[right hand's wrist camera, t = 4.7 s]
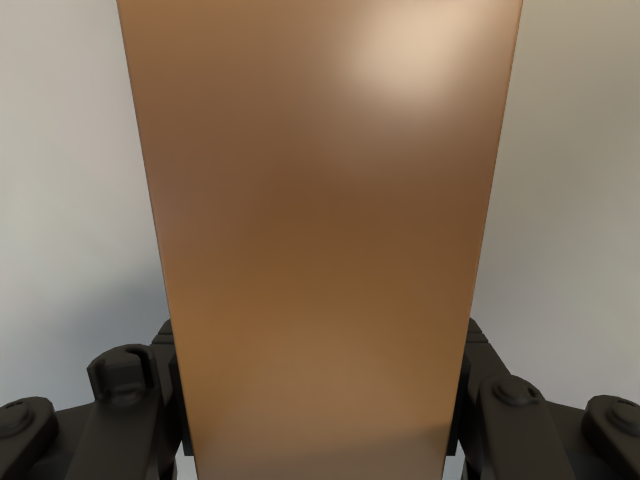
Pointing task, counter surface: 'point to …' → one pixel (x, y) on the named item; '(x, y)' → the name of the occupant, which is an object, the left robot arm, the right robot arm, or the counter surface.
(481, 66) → the beam
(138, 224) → the counter surface
